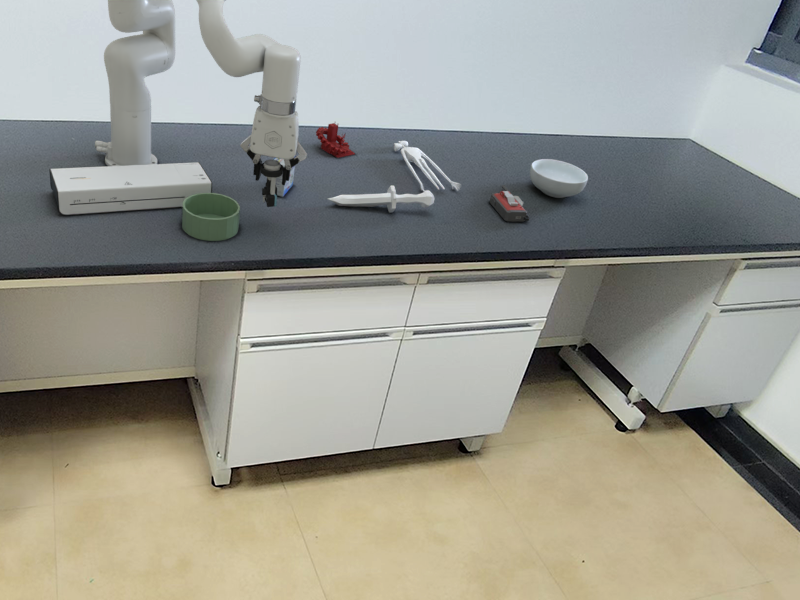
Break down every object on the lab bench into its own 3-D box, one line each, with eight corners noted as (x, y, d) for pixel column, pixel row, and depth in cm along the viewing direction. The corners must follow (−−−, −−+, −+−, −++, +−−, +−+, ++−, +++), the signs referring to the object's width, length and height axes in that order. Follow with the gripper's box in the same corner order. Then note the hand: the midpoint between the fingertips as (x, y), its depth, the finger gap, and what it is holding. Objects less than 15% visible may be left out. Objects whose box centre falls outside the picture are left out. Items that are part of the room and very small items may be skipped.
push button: (253, 195, 181) (255, 155, 175) (275, 193, 183) (277, 154, 177) (262, 208, 176) (264, 168, 170) (284, 206, 178) (287, 167, 173)
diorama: (353, 161, 221) (357, 134, 217) (311, 154, 220) (315, 126, 216) (355, 147, 230) (360, 120, 226) (316, 140, 229) (319, 113, 225)
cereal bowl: (567, 181, 238) (574, 160, 234) (590, 206, 225) (597, 184, 221) (517, 177, 233) (523, 156, 230) (537, 203, 220) (544, 181, 216)
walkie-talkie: (534, 224, 209) (504, 190, 224) (539, 210, 206) (508, 176, 222) (506, 224, 206) (477, 189, 221) (510, 209, 203) (481, 175, 218)
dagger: (327, 208, 192) (437, 204, 195) (325, 185, 193) (436, 181, 196) (326, 217, 199) (433, 213, 203) (325, 194, 200) (431, 190, 204)
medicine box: (283, 197, 195) (286, 166, 190) (266, 193, 196) (269, 162, 191) (293, 185, 202) (296, 155, 197) (276, 181, 202) (279, 151, 197)
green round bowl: (175, 235, 171) (175, 213, 168) (190, 209, 182) (190, 188, 179) (231, 244, 172) (233, 223, 169) (243, 219, 183) (244, 198, 180)
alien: (413, 146, 239) (417, 132, 236) (458, 201, 217) (463, 185, 214) (378, 146, 234) (382, 131, 231) (420, 202, 212) (425, 186, 209)
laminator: (58, 216, 169) (56, 191, 166) (50, 190, 177) (48, 166, 174) (211, 205, 185) (212, 182, 182) (196, 182, 194) (197, 159, 190)
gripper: (235, 103, 163) (230, 180, 173) (315, 118, 164) (306, 194, 174) (242, 92, 169) (237, 167, 179) (319, 106, 171) (310, 180, 180)
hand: (271, 179), depth 177 cm, fingers closed on push button, 5 cm apart
